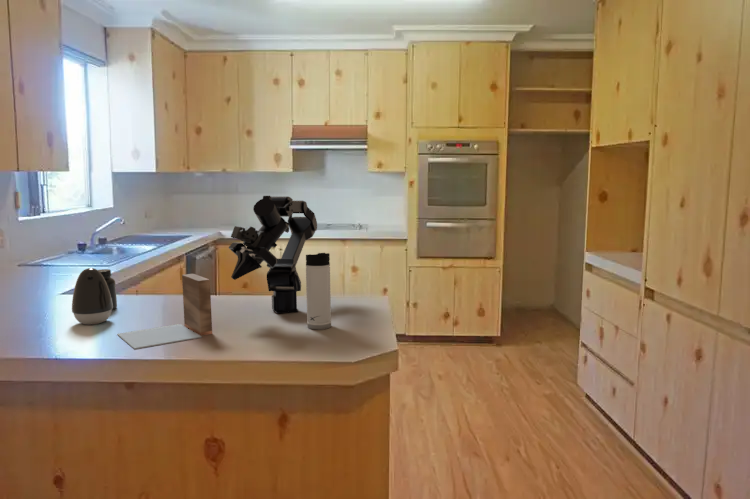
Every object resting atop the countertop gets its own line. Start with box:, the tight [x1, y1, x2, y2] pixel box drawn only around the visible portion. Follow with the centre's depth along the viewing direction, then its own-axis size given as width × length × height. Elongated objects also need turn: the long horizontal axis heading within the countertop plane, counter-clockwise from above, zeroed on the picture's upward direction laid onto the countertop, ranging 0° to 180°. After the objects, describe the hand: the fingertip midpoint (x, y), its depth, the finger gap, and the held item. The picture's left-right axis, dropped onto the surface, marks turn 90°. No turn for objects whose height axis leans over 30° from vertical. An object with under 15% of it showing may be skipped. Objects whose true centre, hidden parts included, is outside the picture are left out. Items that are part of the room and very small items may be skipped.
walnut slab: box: [181, 273, 213, 337], centre depth 152 cm, size 3×12×14 cm, turn 37°
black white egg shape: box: [71, 267, 113, 326], centre depth 161 cm, size 10×10×15 cm
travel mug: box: [305, 252, 332, 331], centre depth 154 cm, size 6×7×20 cm
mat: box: [116, 323, 203, 350], centre depth 147 cm, size 16×16×1 cm
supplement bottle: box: [97, 268, 118, 311], centre depth 178 cm, size 7×7×12 cm
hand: (232, 278), depth 157 cm, fingers closed
